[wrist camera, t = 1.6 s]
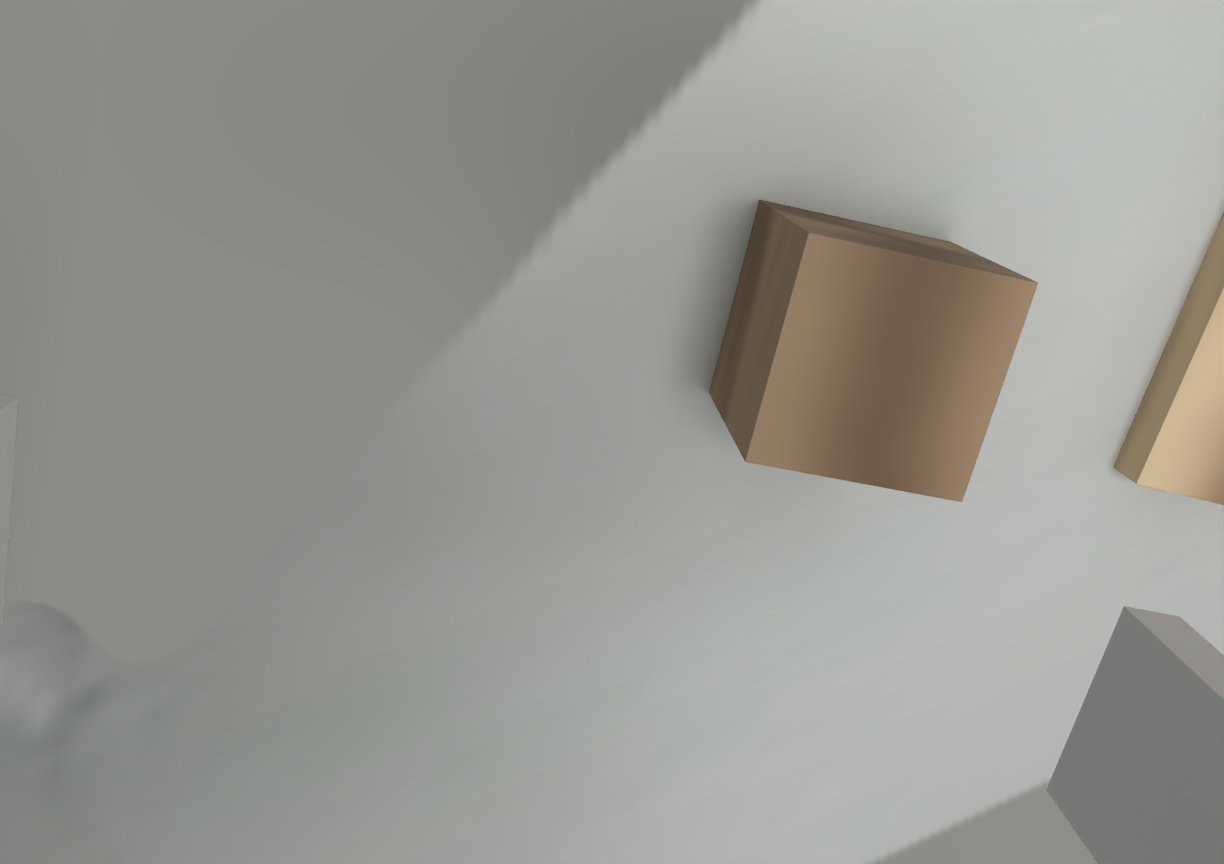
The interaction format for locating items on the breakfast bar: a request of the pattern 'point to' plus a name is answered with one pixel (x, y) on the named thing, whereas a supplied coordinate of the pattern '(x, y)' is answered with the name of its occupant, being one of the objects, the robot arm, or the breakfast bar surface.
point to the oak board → (1186, 397)
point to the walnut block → (865, 351)
